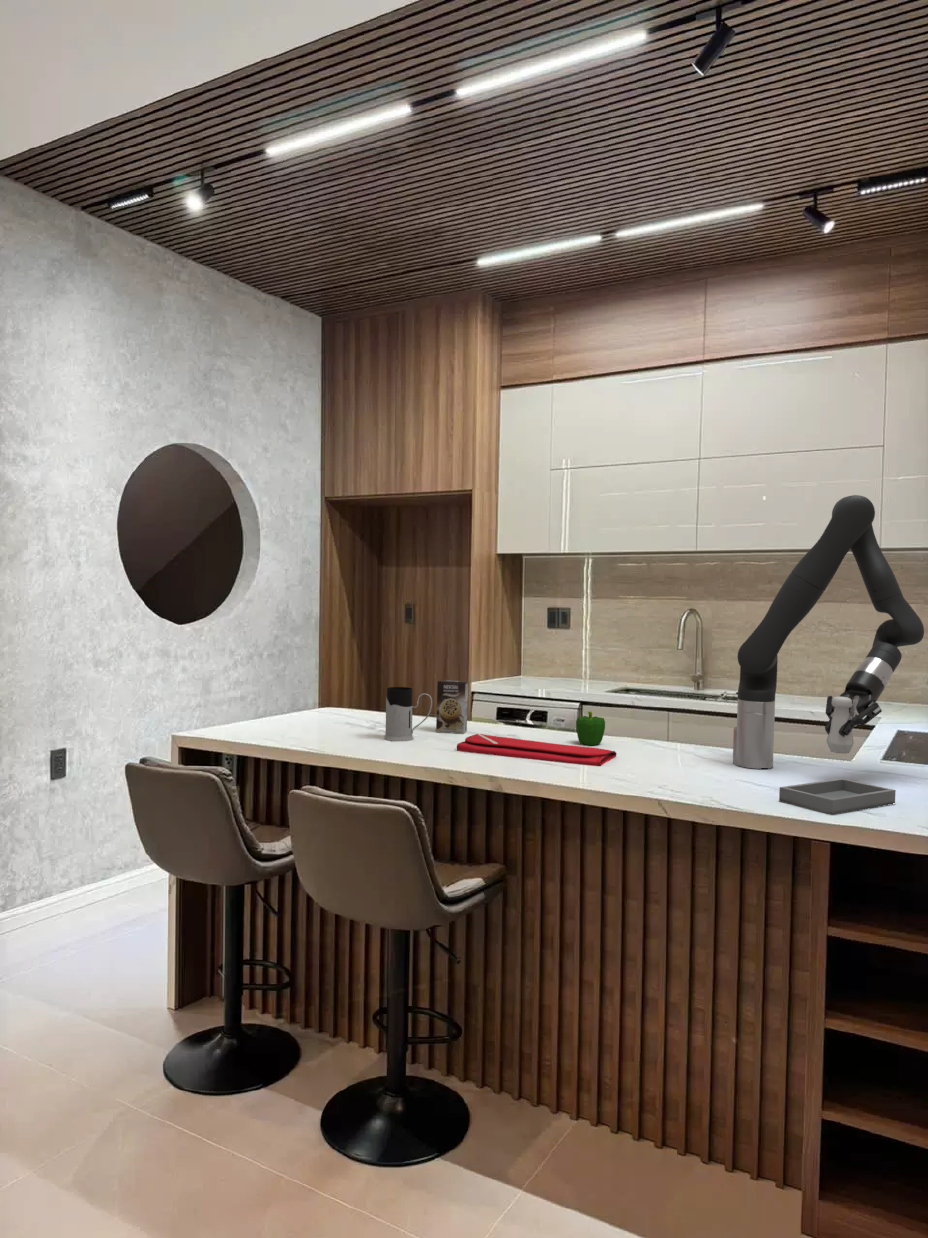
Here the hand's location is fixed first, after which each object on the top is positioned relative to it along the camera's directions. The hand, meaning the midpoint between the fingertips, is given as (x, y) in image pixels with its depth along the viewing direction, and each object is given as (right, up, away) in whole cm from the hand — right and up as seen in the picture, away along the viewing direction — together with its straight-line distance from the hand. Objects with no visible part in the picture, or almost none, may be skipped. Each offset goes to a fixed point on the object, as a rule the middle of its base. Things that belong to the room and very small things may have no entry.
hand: (834, 733), depth 201 cm
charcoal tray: (-7, -13, -16) cm, 22 cm away
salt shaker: (+2, -5, +1) cm, 5 cm away
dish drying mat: (-67, -11, +33) cm, 76 cm away
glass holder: (-103, -9, +53) cm, 117 cm away
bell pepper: (-50, -10, +51) cm, 72 cm away
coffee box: (-91, -9, +69) cm, 114 cm away
